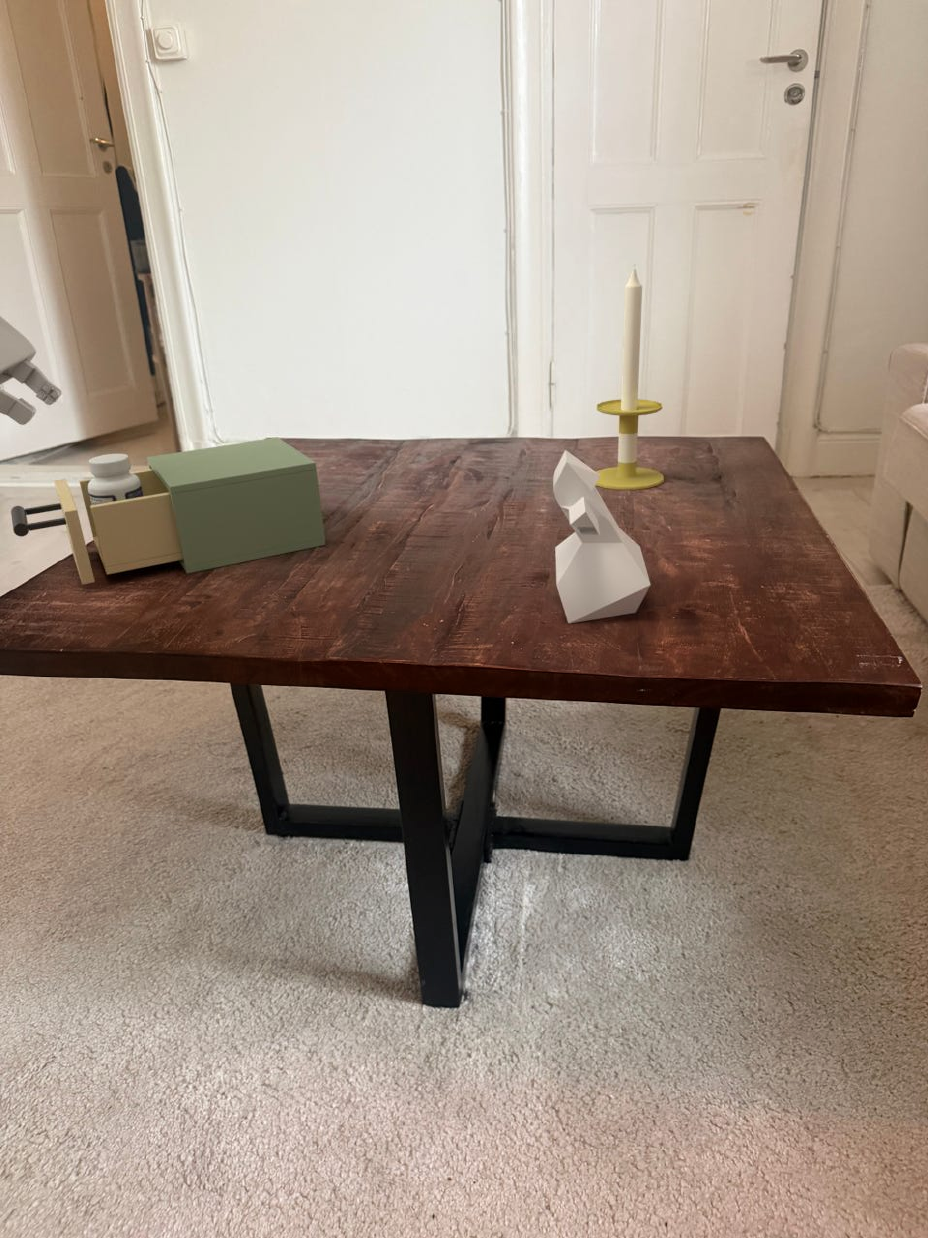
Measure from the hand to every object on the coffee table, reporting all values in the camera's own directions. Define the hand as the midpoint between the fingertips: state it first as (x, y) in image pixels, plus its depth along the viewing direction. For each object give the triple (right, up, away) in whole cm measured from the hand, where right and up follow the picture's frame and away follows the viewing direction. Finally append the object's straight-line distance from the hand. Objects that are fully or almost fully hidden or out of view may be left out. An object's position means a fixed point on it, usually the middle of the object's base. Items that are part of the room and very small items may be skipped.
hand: (44, 408), depth 88 cm
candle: (+65, -3, +29) cm, 71 cm away
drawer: (+5, -14, +7) cm, 17 cm away
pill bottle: (+6, -13, +8) cm, 16 cm away
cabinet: (+17, -12, +13) cm, 25 cm away
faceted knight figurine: (+55, -19, -6) cm, 59 cm away
